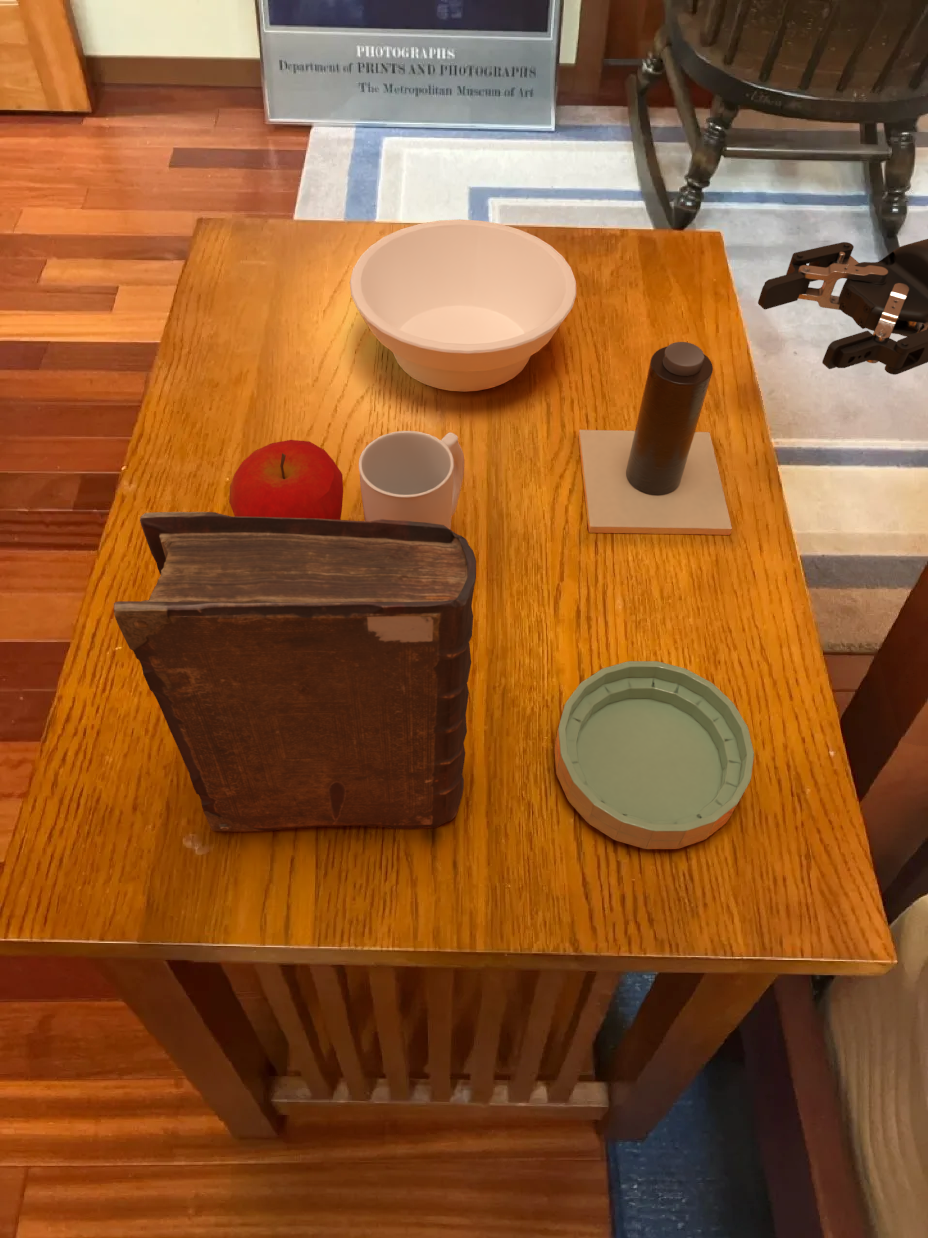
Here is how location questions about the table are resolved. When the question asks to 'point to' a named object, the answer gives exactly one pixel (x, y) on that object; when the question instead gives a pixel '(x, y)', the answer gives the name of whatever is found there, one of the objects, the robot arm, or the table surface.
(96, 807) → the table surface
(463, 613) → the book
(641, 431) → the thermos flask
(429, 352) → the bowl
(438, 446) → the mug
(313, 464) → the apple
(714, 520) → the tile
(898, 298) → the robot arm
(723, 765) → the celadon bowl
